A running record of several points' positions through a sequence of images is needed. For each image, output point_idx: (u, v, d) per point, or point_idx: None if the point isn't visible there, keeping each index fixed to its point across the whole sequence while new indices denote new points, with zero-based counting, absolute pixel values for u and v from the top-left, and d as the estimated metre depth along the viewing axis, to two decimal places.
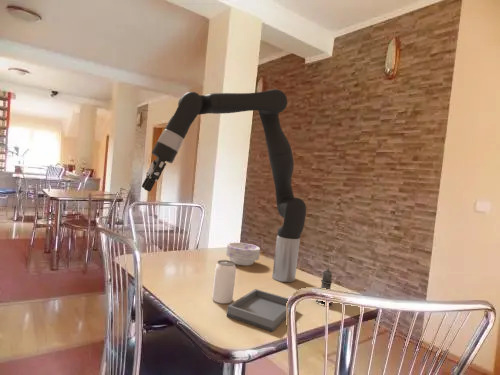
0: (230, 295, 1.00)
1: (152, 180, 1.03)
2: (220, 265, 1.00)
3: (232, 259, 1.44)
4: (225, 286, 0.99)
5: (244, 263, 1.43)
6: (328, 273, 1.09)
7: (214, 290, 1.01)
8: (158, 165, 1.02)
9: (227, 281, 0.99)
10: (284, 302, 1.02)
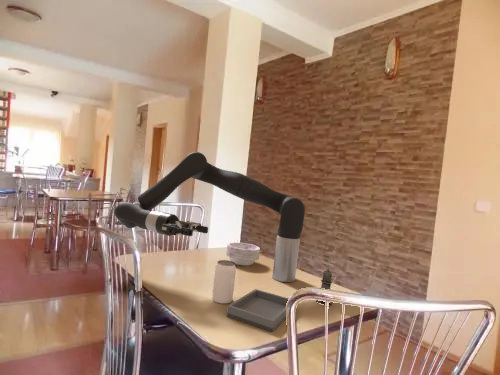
0: (230, 295, 1.00)
1: (180, 231, 1.04)
2: (220, 265, 1.00)
3: (232, 259, 1.44)
4: (225, 286, 0.99)
5: (244, 263, 1.43)
6: (328, 273, 1.09)
7: (214, 290, 1.01)
8: (165, 230, 1.04)
9: (227, 281, 0.99)
10: (284, 302, 1.02)
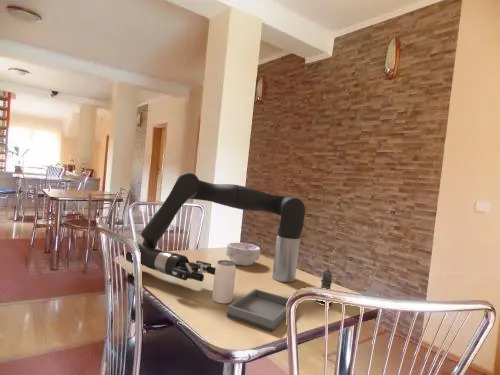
0: (230, 295, 1.00)
1: (191, 276, 1.02)
2: (220, 265, 1.00)
3: (232, 259, 1.44)
4: (225, 286, 0.99)
5: (244, 263, 1.43)
6: (328, 273, 1.09)
7: (214, 290, 1.01)
8: (175, 275, 1.03)
9: (227, 281, 0.99)
10: (284, 302, 1.02)
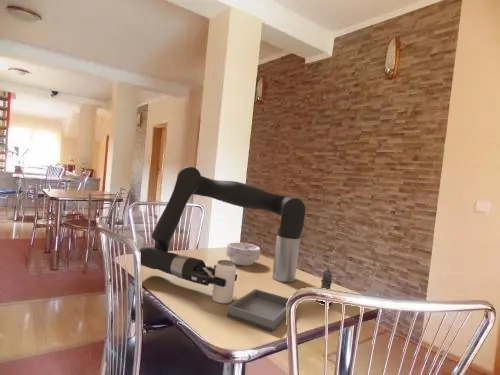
0: (230, 295, 1.00)
1: (213, 281, 0.99)
2: (220, 265, 1.00)
3: (232, 259, 1.44)
4: (225, 286, 0.99)
5: (244, 263, 1.43)
6: (328, 273, 1.09)
7: (214, 290, 1.01)
8: (195, 281, 0.99)
9: (227, 280, 0.99)
10: (284, 302, 1.02)
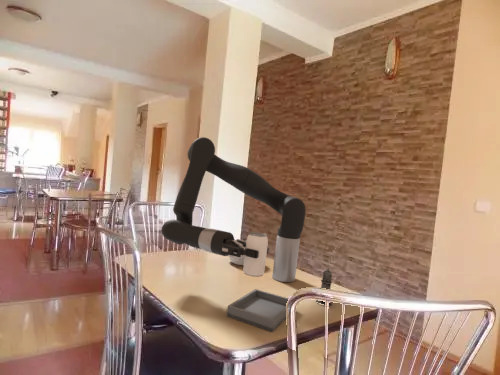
0: (262, 268, 0.96)
1: (245, 252, 0.94)
2: (252, 236, 0.95)
3: (232, 259, 1.44)
4: (257, 258, 0.95)
5: None
6: (328, 273, 1.09)
7: (245, 262, 0.96)
8: (226, 252, 0.95)
9: (260, 252, 0.95)
10: (284, 302, 1.02)
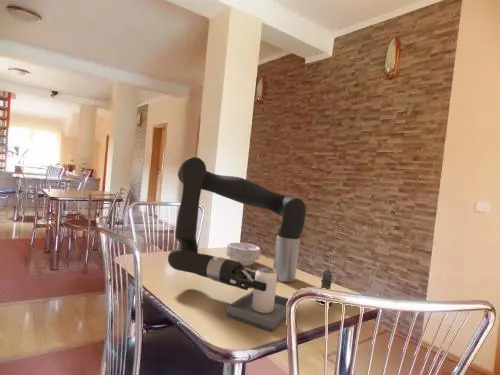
0: (272, 304, 0.94)
1: (252, 285, 0.92)
2: (261, 272, 0.94)
3: (232, 259, 1.44)
4: (266, 295, 0.93)
5: (244, 263, 1.43)
6: (328, 273, 1.09)
7: (255, 299, 0.95)
8: (234, 284, 0.93)
9: (269, 289, 0.93)
10: (284, 302, 1.02)
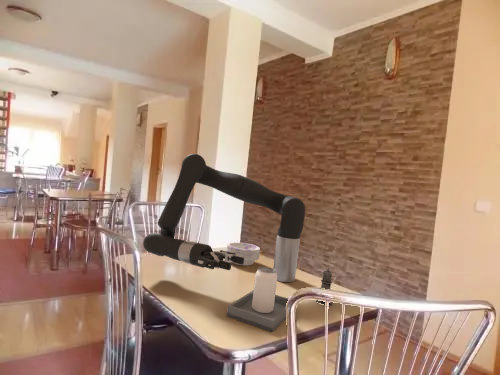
0: (272, 304, 0.94)
1: (218, 264, 0.99)
2: (261, 272, 0.94)
3: None
4: (267, 295, 0.93)
5: (244, 263, 1.43)
6: (328, 273, 1.09)
7: (255, 299, 0.95)
8: (201, 264, 1.00)
9: (269, 289, 0.93)
10: (284, 302, 1.02)
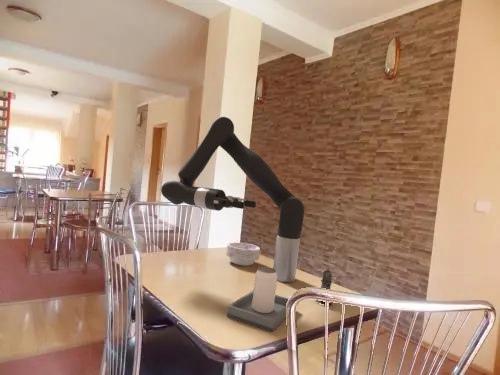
0: (272, 304, 0.94)
1: (232, 204, 1.07)
2: (261, 272, 0.94)
3: (232, 259, 1.44)
4: (267, 295, 0.93)
5: (244, 263, 1.43)
6: (328, 273, 1.09)
7: (255, 299, 0.95)
8: (217, 204, 1.08)
9: (269, 289, 0.93)
10: (284, 302, 1.02)
